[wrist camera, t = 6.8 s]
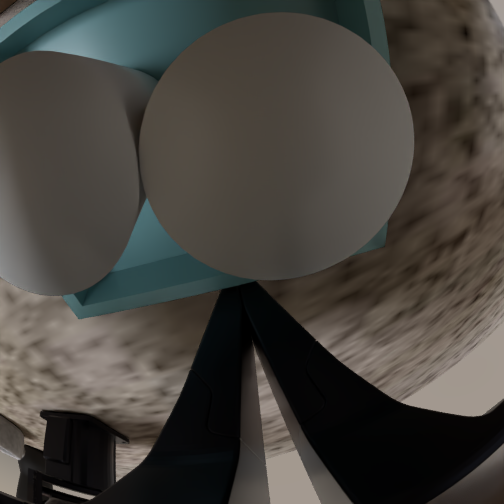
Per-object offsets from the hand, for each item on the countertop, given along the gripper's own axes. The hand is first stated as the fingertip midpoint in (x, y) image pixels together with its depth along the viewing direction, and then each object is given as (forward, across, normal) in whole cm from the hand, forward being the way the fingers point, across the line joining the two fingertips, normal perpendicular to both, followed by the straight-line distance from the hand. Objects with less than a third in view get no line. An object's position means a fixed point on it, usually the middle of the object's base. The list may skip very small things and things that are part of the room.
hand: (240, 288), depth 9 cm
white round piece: (+1, -1, -5) cm, 5 cm away
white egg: (+1, +2, -6) cm, 6 cm away
